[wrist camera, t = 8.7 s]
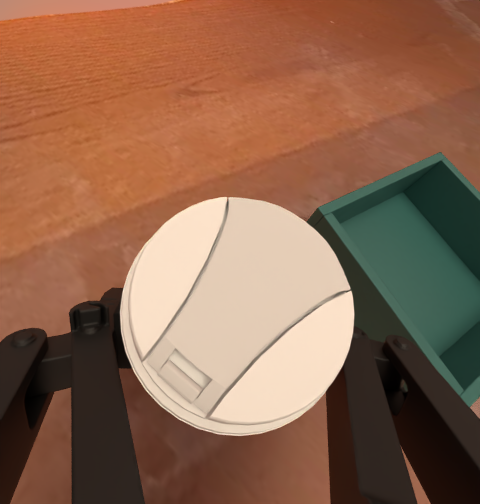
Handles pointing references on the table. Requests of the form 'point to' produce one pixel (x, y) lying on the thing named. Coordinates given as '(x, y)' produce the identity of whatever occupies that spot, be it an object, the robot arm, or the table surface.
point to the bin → (414, 263)
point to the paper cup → (236, 316)
